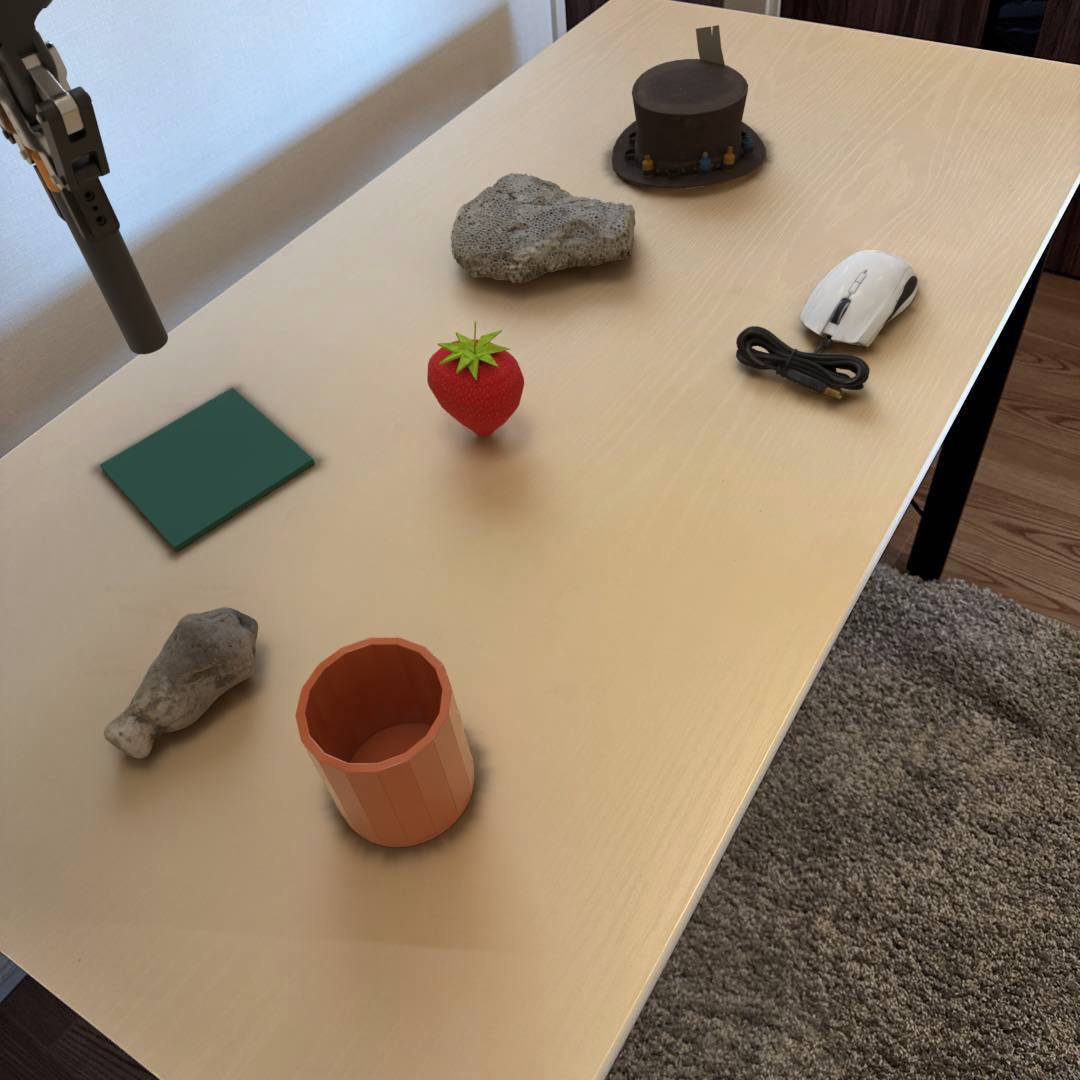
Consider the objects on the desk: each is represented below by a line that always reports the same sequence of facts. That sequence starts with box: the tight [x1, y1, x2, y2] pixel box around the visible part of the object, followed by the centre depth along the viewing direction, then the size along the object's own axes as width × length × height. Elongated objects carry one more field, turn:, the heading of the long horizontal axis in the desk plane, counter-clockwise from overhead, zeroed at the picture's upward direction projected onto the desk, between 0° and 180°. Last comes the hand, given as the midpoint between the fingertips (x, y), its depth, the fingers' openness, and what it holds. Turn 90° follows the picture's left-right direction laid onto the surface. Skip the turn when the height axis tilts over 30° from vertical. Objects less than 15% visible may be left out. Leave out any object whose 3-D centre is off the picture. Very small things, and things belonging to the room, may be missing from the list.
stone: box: [103, 606, 259, 759], centre depth 62 cm, size 10×5×8 cm
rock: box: [450, 172, 636, 284], centre depth 90 cm, size 15×16×5 cm
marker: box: [31, 151, 169, 355], centre depth 63 cm, size 3×3×14 cm
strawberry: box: [426, 320, 525, 437], centre depth 74 cm, size 6×8×10 cm
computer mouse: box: [735, 249, 919, 400], centre depth 80 cm, size 10×18×4 cm, turn 144°
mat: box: [99, 387, 316, 552], centre depth 78 cm, size 12×12×1 cm
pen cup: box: [295, 636, 475, 848], centre depth 56 cm, size 8×8×9 cm
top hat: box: [611, 24, 767, 190], centre depth 96 cm, size 15×15×10 cm
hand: (91, 224), depth 62 cm, fingers closed on marker, 2 cm apart
